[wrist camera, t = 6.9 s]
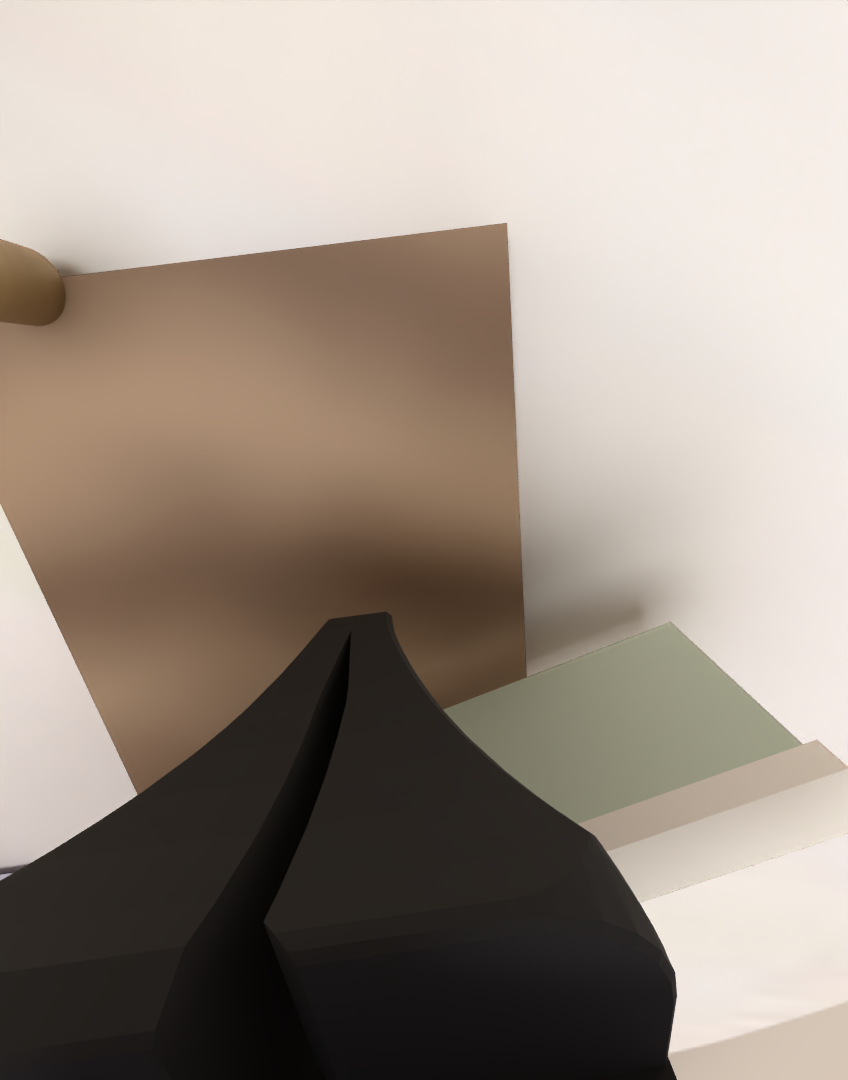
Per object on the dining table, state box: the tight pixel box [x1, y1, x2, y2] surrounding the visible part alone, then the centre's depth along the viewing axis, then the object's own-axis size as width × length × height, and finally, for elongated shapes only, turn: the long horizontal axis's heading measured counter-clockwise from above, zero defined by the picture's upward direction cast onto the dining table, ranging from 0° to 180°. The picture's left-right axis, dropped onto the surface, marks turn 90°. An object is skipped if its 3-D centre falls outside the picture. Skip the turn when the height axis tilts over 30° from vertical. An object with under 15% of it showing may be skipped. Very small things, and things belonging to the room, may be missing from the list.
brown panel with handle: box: [0, 223, 527, 795], centre depth 9 cm, size 16×12×7 cm
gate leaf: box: [443, 622, 848, 903], centre depth 10 cm, size 11×2×5 cm, turn 113°
